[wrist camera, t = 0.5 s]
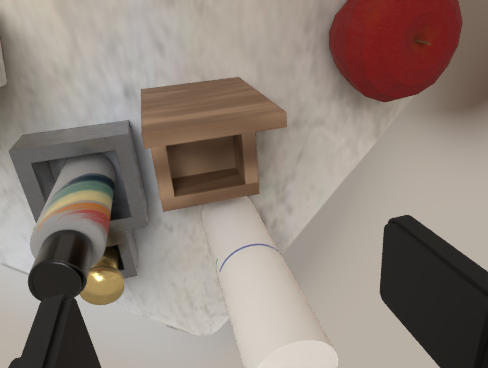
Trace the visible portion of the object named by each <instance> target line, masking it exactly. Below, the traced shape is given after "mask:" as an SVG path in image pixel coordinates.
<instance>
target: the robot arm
mask: <svg viewBox="0 0 488 368" xmlns="http://www.w3.org/2000/svg"><path fill="white" fill-rule="evenodd" d="M380 295H381V298H382V300H383V301H384V303H385V304H386V305H387V306H388V307H389V309H390V310H391V311H392V312H393V313H394V314H395V316H396V317H397V318H398V319H399V320H400V321H401V323H402V324H403V325H404V326H405V327H406V328H407V330H408V331H409V332H410V333H411V334H412V335H413V337H414V338H415V339H416V340H417V341H418V342H419V344H420V345H421V346H422V347H423V348H424V349H425V351H426V352H427V353H428V354H429V355H430V356H431V358H432V359H433V360H434V361H435V362H436V363H437V365H438V366H439V367H440V368H488V272H487V271H486V270H485V269H483V268H482V267H480V266H479V265H477V264H476V263H475V262H474V261H472V260H471V259H469V258H468V257H467V256H465V255H464V254H462V253H461V252H460V251H458V250H457V249H456V248H454V247H453V246H451V245H450V244H449V243H447V242H446V241H445V240H443V239H442V238H441V237H439V236H438V235H436V234H435V233H434V232H432V231H431V230H430V229H428V228H427V227H425V226H424V225H422V224H421V223H420V222H418V221H417V220H416V219H414V218H413V217H412V216H409V215H404V216H400V217H396V218H392V219H390V220H389V221H388V224H387V225H385V227H384V237H383V252H382V268H381V281H380ZM8 368H101V366H100V363H99V360H98V357H97V355H96V352H95V349H94V347H93V344H92V341H91V339H90V336H89V333H88V331H87V328H86V325H85V323H84V320H83V317H82V315H81V312H80V309H79V307H78V304H77V301H76V300H75V298H71V299H69V298H68V297H67V295H60V296H56V297H51V298H47V299H43V300H42V301H41V303H40V305H39V308H38V311H37V314H36V317H35V319H34V322H33V325H32V327H31V331H30V333H29V336H28V339H27V341H26V345H25V347H24V350H23V353H22V355H21V357H20V358H15V359H14V360H13V361H12V362H11V364H10V365H9V367H8Z"/></svg>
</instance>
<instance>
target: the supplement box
mask: <svg viewBox="0 0 488 368" xmlns="http://www.w3.org/2000/svg"><path fill="white" fill-rule="evenodd" d="M6 84H7V78H6V72H5V66H4V59H3V53H2V47H1V41H0V88H1V87H2V86H4V85H6Z"/></svg>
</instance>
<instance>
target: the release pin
mask: <svg viewBox="0 0 488 368" xmlns="http://www.w3.org/2000/svg"><path fill="white" fill-rule="evenodd" d="M118 257H119V254H118V251H117V250H116V249H115V248H114V247H111V246H109V247H105V251H104V254H103V256H102V257H101V259H100V260H99V261H98V262H97V263H96V264H95V265H94V266H93V267H91V268H90V269H89V274H88V279H87V284H86V286H85V288H84V290H83V291H82V292H81V293H80V296H81V297H82V298H83V299H84V300H85V301H87V302H89V303H91V304H95V305H105V304H109V303H112V302H114V301H116V300H117V299H118V298H119V297H120V296H121V295H122V293H123V290H124V277H123V275H122V273H121V272H120V271H119V270H118Z"/></svg>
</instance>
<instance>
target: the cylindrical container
mask: <svg viewBox="0 0 488 368" xmlns="http://www.w3.org/2000/svg"><path fill="white" fill-rule="evenodd" d="M202 222H203V226H204V229H205V233H206V236H207V240H208V244H209V247H210V251H211V254H212V258H213V261H214V265H215V268H216V272H217V275H218V279H219V282H220V286H221V289H222V293H223V296H224V300H225V303H226V307H227V310H228V314H229V317H230V320H231V324H232V327H233V331H234V334H235V338H236V341H237V344H238V348H239V352H240V355H241V359H242V362H243V365H244V368H338V355H337V353H336V351H335V349H334V347H333V346H332V344H331V342H330V340H329V338H328V337H327V335H326V333H325V331H324V330H323V328H322V326H321V325H320V323H319V321H318V319H317V317H316V315H315V314H314V312H313V310H312V308H311V307H310V305H309V303H308V301H307V300H306V298H305V296H304V294H303V292H302V291H301V289H300V287H299V286H298V284H297V282H296V280H295V279H294V276H293V275H292V273H291V271H290V269H289V268H288V266H287V264H286V262H285V260H284V259H283V257H282V255H281V253H280V252H279V250H278V248H277V246H276V245H275V243H274V241H273V239H272V237H271V236H270V234H269V232H268V230H267V229H266V227H265V225H264V223H263V222H262V220H261V218H260V216H259V214H258V213H257V211H256V209H255V207H254V206H253V204H252V202H251V200H250V199H249V198H248V197H247V196H245V197H239V198H234V199H229V200H223V201H218V202H212V203H207V204H205V205H204V207H203V210H202Z"/></svg>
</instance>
